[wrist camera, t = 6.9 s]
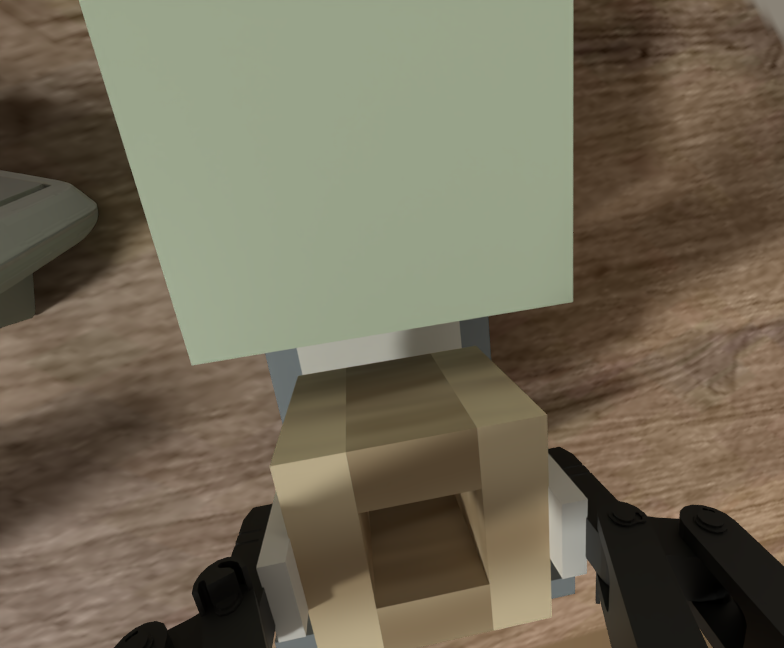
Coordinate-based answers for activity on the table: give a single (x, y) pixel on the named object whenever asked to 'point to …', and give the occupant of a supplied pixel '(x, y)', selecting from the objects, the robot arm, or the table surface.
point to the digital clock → (35, 234)
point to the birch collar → (416, 500)
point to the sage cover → (345, 160)
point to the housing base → (374, 350)
